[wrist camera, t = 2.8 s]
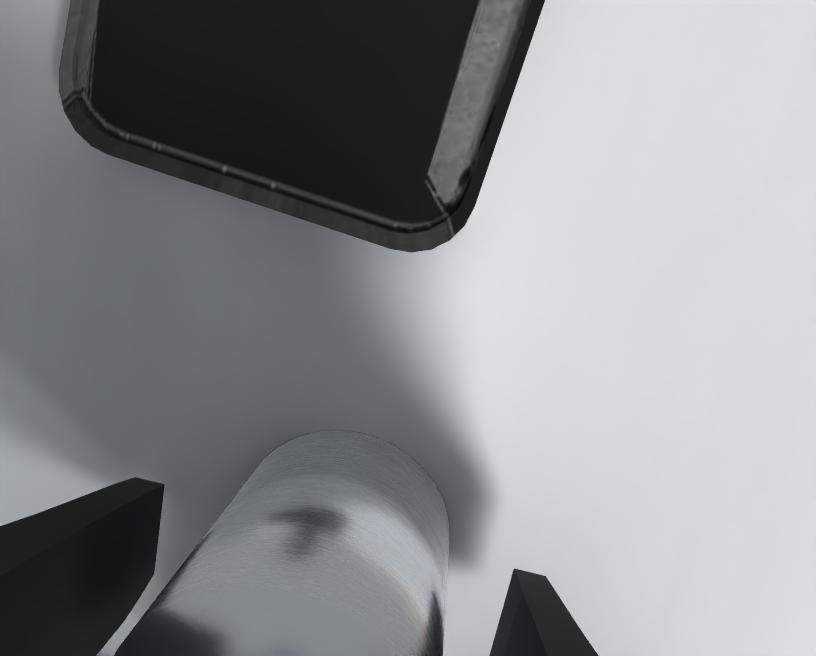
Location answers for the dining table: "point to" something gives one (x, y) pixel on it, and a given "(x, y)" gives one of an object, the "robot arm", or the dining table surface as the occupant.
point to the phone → (305, 102)
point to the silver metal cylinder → (313, 561)
